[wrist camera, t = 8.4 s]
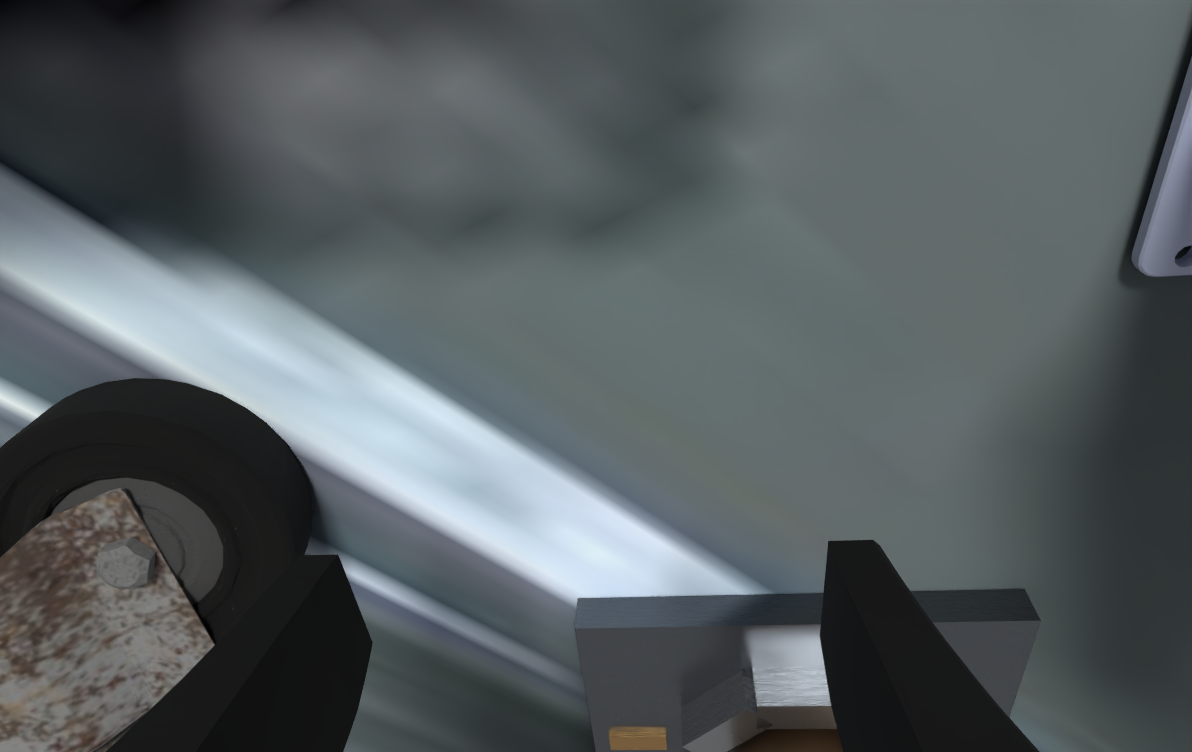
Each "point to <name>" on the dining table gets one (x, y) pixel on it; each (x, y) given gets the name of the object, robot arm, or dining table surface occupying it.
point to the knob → (793, 741)
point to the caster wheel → (132, 552)
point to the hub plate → (757, 663)
